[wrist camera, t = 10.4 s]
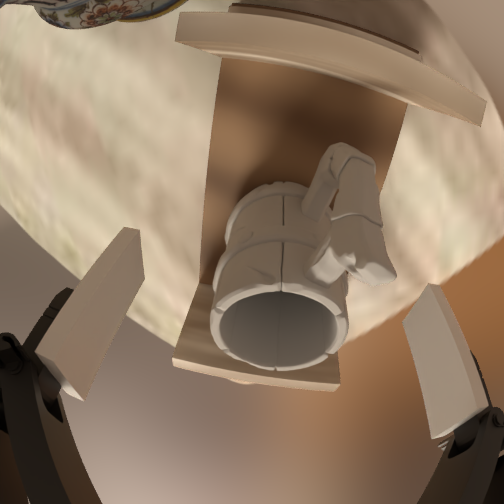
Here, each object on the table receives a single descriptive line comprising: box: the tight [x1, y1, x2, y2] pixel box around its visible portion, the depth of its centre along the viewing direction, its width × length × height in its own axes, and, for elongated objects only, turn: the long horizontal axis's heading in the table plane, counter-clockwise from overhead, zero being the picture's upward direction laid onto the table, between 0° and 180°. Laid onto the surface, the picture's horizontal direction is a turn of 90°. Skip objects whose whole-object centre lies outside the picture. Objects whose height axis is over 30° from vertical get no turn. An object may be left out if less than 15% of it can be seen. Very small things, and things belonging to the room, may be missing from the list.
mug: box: [210, 142, 397, 371], centre depth 14 cm, size 8×12×12 cm, turn 155°
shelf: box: [172, 3, 487, 391], centre depth 16 cm, size 26×12×10 cm, turn 171°
